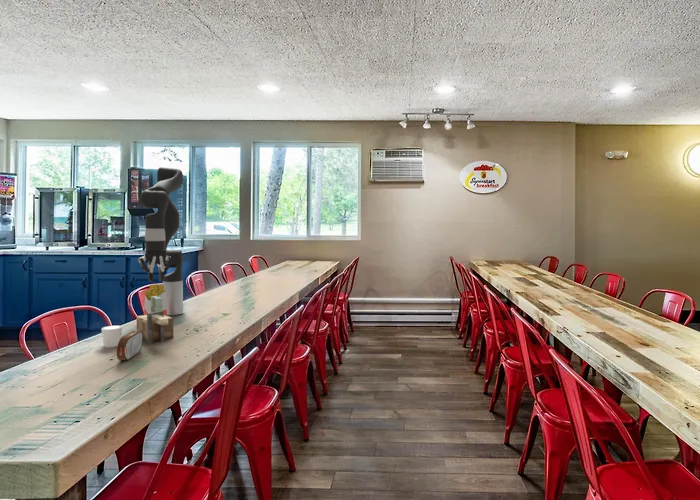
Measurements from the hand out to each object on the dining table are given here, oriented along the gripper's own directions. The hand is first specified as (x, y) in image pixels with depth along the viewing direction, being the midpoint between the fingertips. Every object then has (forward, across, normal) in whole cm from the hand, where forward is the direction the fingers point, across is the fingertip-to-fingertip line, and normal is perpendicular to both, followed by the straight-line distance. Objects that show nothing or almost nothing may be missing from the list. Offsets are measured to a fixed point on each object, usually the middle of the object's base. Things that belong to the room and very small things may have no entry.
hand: (156, 280), depth 165 cm
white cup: (+23, -17, -1) cm, 29 cm away
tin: (+23, -17, -20) cm, 35 cm away
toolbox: (+23, -2, -2) cm, 23 cm away
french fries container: (+23, +9, +23) cm, 34 cm away
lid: (+16, -1, 0) cm, 16 cm away
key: (+14, -4, -13) cm, 20 cm away
